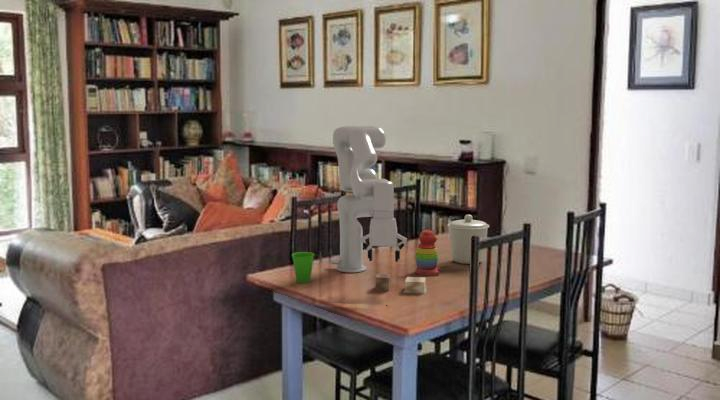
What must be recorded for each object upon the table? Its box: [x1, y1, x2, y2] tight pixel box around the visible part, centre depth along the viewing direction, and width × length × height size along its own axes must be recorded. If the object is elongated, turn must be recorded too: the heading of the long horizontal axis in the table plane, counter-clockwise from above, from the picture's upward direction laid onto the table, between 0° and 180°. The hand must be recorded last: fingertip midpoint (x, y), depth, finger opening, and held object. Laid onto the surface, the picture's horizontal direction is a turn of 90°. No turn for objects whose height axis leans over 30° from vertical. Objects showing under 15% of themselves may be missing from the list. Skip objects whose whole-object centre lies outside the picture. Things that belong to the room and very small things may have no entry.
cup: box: [291, 251, 316, 284], centre depth 277 cm, size 9×9×11 cm
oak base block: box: [404, 276, 427, 294], centre depth 260 cm, size 7×7×4 cm
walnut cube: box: [374, 273, 392, 292], centre depth 262 cm, size 5×5×5 cm
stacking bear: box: [414, 228, 441, 277], centre depth 291 cm, size 11×10×18 cm
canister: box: [447, 214, 490, 265], centre depth 309 cm, size 18×18×21 cm
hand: (383, 260), depth 260 cm, fingers open, 9 cm apart
